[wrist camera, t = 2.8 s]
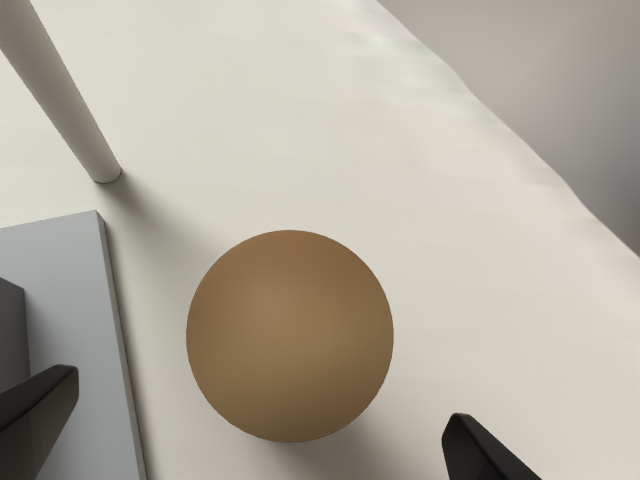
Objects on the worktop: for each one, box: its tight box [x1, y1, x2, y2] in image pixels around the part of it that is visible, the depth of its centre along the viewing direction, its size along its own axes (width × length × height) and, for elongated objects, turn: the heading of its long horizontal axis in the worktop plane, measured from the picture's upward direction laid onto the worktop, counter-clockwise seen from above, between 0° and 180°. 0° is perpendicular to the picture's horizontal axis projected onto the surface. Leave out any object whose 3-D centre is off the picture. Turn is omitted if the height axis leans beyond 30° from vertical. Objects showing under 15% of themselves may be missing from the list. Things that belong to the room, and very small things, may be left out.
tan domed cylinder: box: [186, 230, 393, 442], centre depth 12 cm, size 4×4×11 cm
